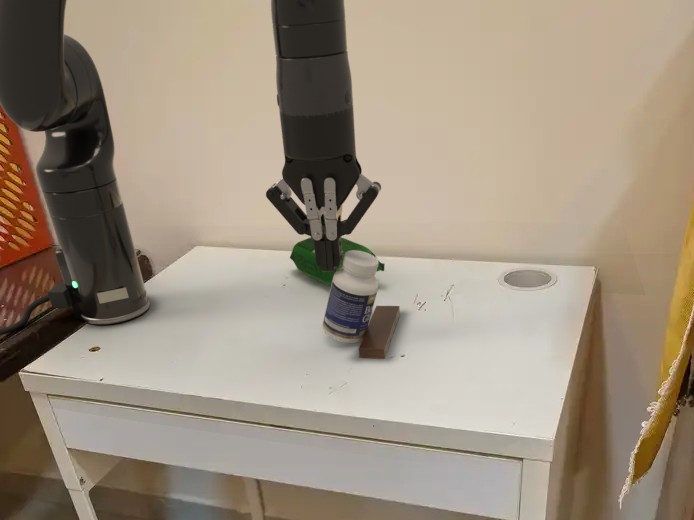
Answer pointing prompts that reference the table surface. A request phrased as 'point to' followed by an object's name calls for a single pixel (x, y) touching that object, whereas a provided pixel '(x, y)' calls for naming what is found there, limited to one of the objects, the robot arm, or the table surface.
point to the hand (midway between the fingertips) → (329, 269)
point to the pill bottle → (351, 297)
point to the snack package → (307, 261)
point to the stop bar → (379, 332)
